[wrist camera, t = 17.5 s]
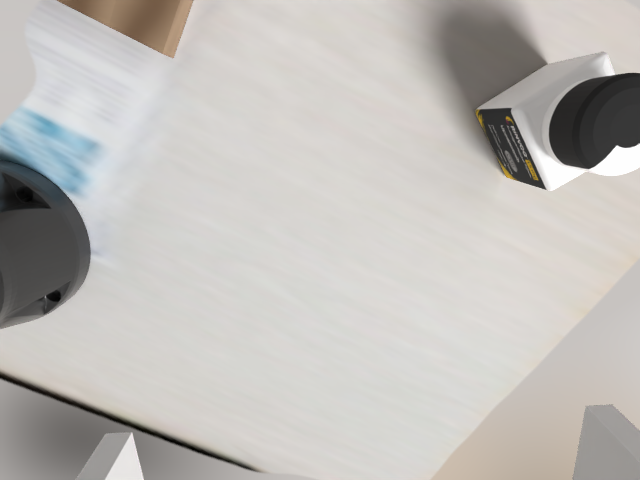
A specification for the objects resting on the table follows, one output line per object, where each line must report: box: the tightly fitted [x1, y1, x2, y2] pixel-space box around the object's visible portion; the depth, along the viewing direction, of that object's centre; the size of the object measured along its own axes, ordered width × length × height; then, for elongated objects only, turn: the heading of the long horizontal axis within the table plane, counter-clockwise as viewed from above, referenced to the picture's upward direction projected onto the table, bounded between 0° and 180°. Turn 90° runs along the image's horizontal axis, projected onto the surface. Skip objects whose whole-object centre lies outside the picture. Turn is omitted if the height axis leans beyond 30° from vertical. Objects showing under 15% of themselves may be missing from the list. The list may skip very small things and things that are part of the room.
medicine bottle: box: [475, 52, 640, 191], centre depth 29 cm, size 7×7×12 cm
